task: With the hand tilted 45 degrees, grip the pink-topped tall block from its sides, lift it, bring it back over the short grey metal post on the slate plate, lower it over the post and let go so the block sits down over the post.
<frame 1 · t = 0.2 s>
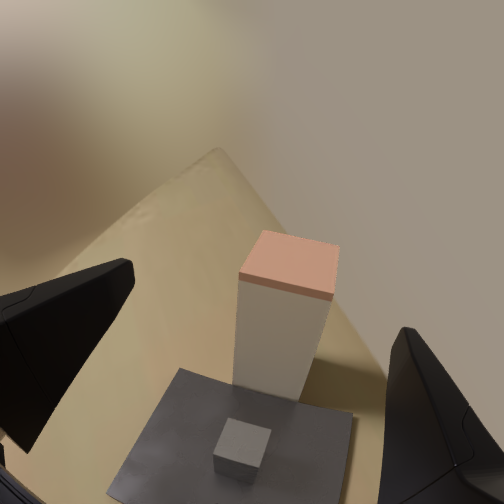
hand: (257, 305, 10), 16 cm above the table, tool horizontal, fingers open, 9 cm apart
post plate: (239, 464, 19), on the table
pink-topped tall block: (272, 371, 27), on the table
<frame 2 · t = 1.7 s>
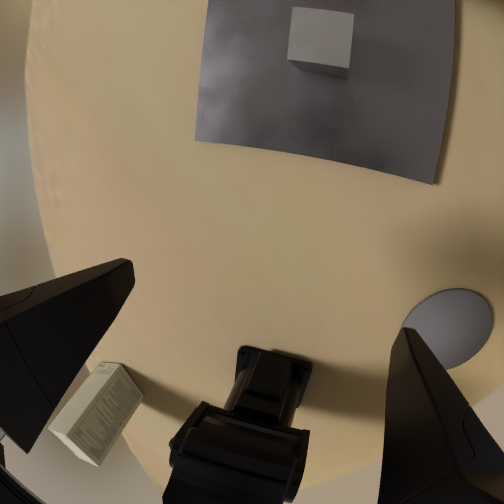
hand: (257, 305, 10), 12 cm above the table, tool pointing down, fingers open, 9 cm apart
slate coaster: (446, 332, 21), on the table
skincare box: (124, 378, 36), on the table
post plate: (326, 52, 15), on the table
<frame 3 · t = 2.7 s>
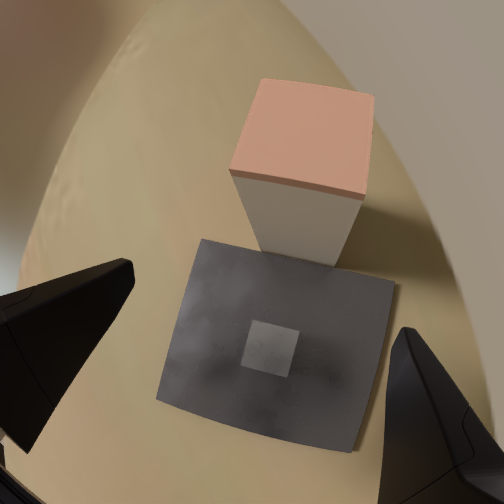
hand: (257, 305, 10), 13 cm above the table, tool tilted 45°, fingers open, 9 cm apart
post plate: (275, 347, 22), on the table
pink-topped tall block: (305, 225, 24), on the table
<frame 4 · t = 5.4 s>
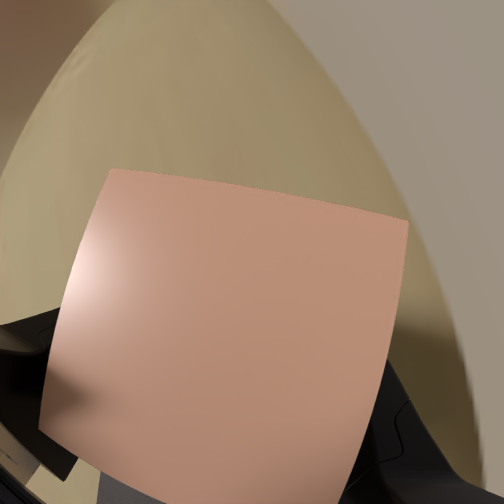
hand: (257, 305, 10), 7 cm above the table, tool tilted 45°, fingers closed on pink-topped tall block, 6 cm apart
post plate: (222, 497, 14), on the table
pink-topped tall block: (267, 347, 16), on the table, touching gripper
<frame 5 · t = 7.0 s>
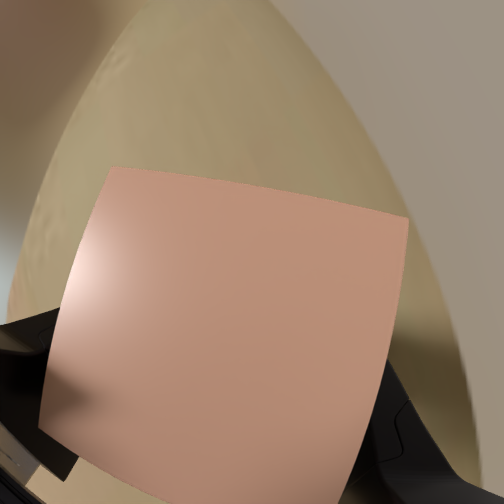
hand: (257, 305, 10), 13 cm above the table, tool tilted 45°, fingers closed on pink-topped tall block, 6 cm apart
pink-topped tall block: (267, 346, 16), point 6 cm above the table, touching gripper
when the fingers open (8 cm above the table, at t = 9.0 s): pink-topped tall block stays where it is, resting on post plate.
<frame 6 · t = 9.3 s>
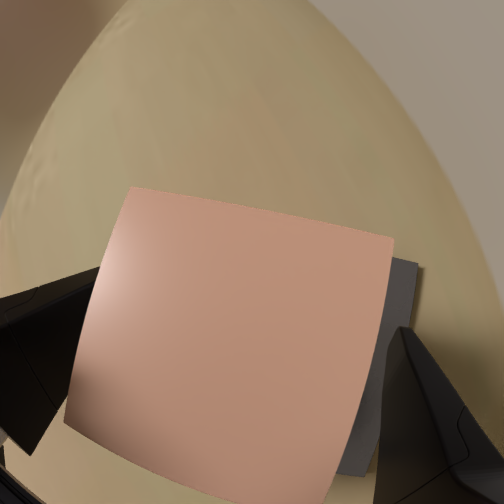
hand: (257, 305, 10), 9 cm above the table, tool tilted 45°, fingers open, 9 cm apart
post plate: (269, 346, 17), on the table
pink-topped tall block: (268, 346, 17), point 1 cm above the table, touching post plate
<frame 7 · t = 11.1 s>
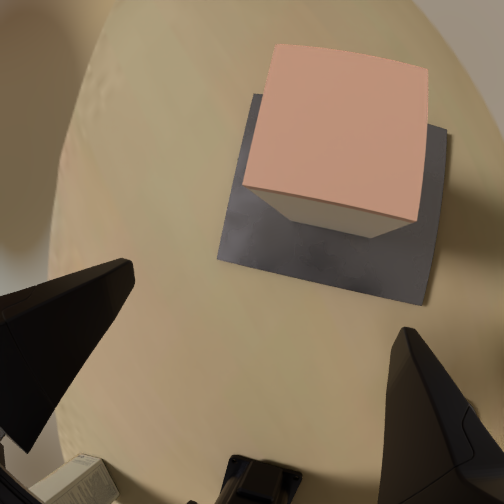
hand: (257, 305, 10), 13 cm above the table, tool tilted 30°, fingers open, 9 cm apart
skincare box: (101, 474, 28), on the table
post plate: (338, 191, 21), on the table
pink-topped tall block: (338, 189, 21), point 1 cm above the table, touching post plate
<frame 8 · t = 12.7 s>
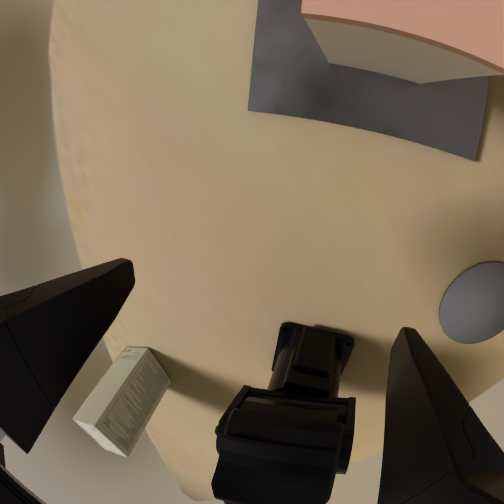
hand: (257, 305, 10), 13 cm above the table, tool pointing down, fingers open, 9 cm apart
slate coaster: (481, 304, 20), on the table
skincare box: (150, 363, 36), on the table
post plate: (378, 32, 14), on the table
pink-topped tall block: (379, 30, 14), point 1 cm above the table, touching post plate
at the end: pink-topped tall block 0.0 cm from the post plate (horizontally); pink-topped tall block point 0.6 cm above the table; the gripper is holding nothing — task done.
